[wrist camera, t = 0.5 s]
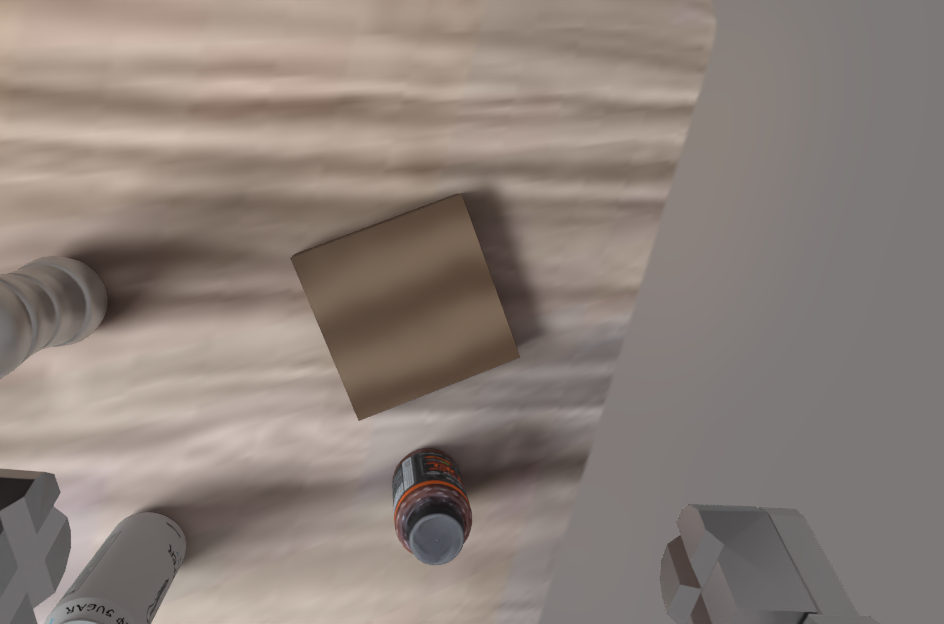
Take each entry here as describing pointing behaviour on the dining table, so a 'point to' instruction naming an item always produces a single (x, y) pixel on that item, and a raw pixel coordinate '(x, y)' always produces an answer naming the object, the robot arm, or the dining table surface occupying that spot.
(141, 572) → the energy drink can
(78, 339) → the plastic bottle
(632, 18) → the dining table surface
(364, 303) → the beige flat square block
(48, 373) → the dining table surface
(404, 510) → the supplement bottle
